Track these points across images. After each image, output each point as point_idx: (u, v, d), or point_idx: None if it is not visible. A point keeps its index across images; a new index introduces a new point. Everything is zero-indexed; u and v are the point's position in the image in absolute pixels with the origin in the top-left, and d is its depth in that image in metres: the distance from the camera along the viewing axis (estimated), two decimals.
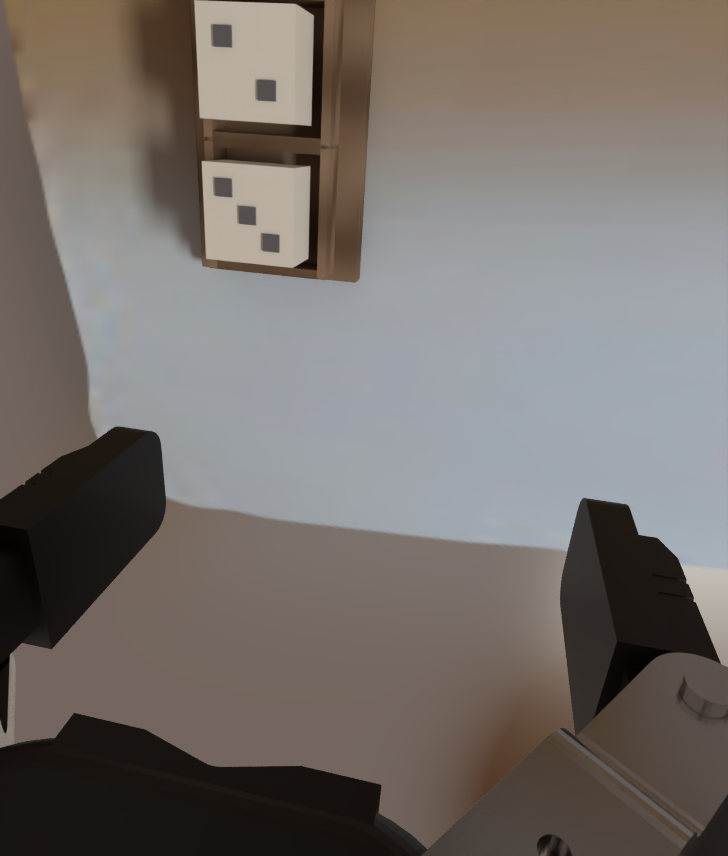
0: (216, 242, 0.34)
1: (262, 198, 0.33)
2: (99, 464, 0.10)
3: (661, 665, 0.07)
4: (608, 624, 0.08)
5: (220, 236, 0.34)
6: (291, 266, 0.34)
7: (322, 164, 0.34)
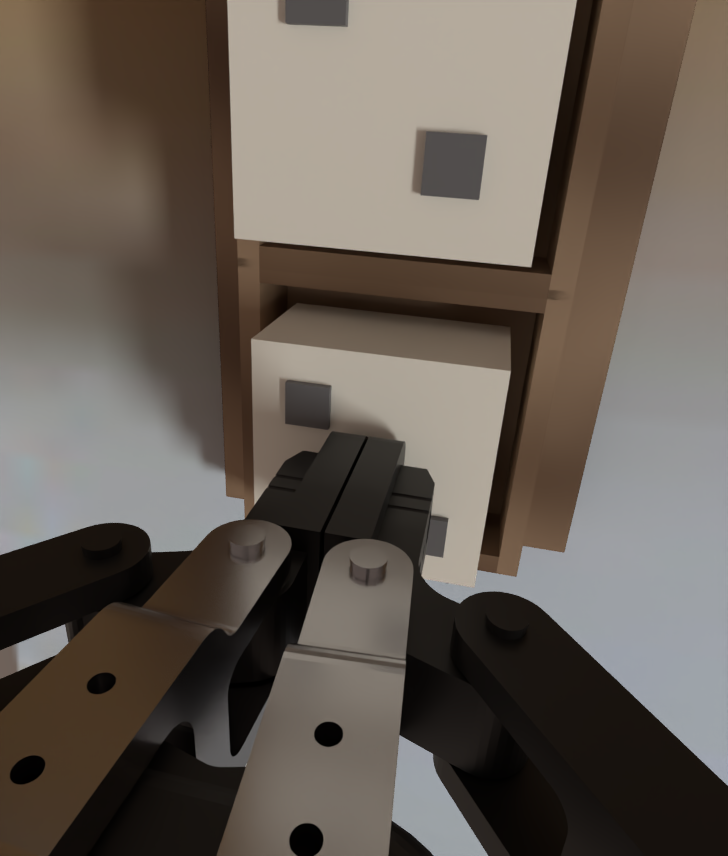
0: None
1: (413, 434, 0.12)
2: (342, 468, 0.11)
3: (331, 559, 0.08)
4: (332, 524, 0.10)
5: None
6: (471, 584, 0.14)
7: (547, 335, 0.13)
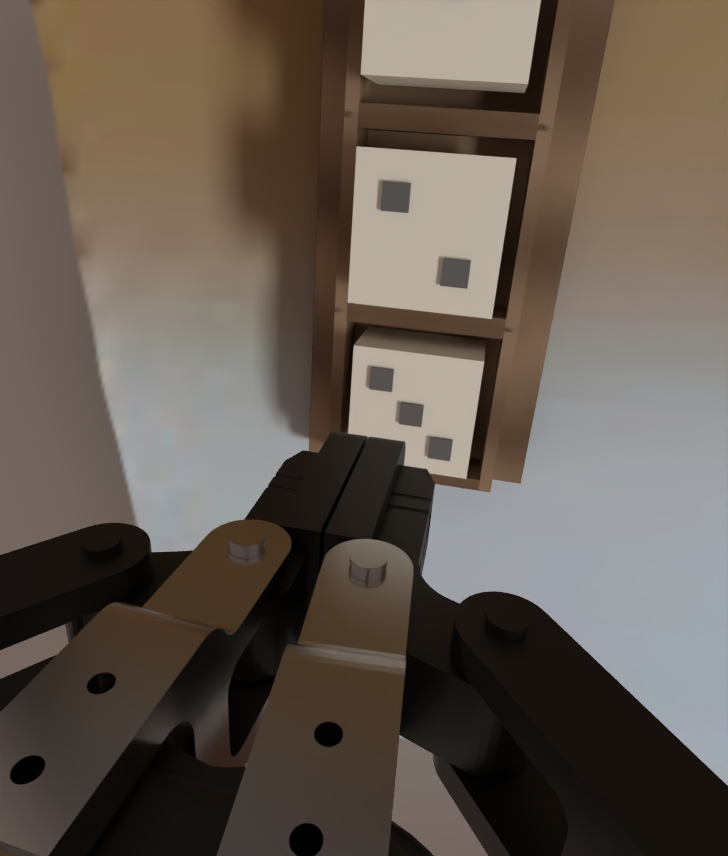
0: None
1: (435, 394, 0.24)
2: (342, 468, 0.11)
3: (330, 559, 0.08)
4: (331, 524, 0.10)
5: (370, 436, 0.26)
6: (464, 477, 0.25)
7: (504, 351, 0.24)
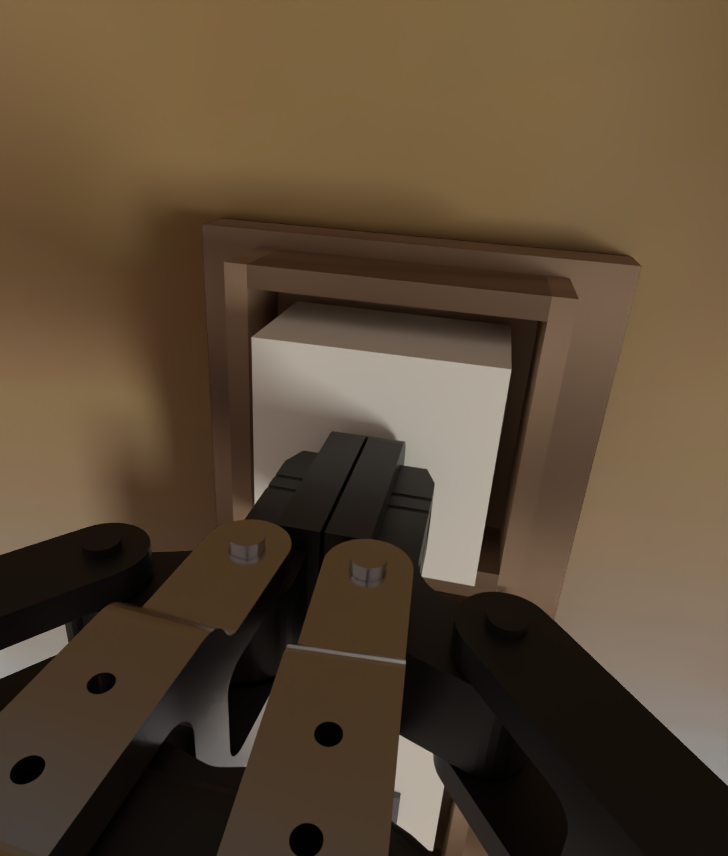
0: None
1: None
2: (342, 468, 0.11)
3: (331, 559, 0.08)
4: (331, 524, 0.10)
5: None
6: None
7: None
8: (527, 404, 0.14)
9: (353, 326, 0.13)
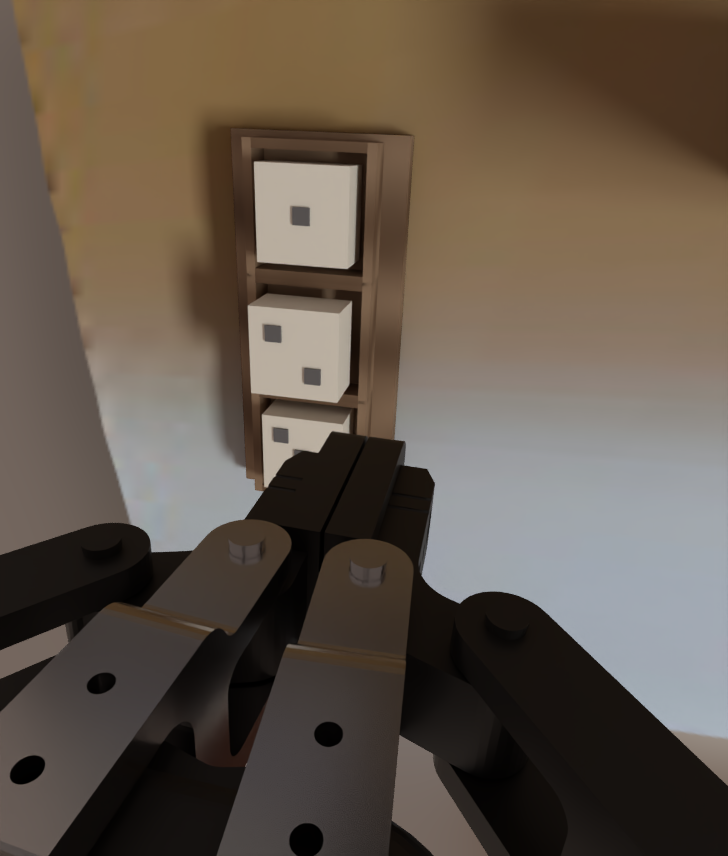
0: (273, 475, 0.39)
1: (315, 444, 0.38)
2: (343, 468, 0.11)
3: (331, 559, 0.08)
4: (332, 524, 0.10)
5: (277, 471, 0.39)
6: None
7: (359, 415, 0.38)
8: None
9: (295, 162, 0.33)
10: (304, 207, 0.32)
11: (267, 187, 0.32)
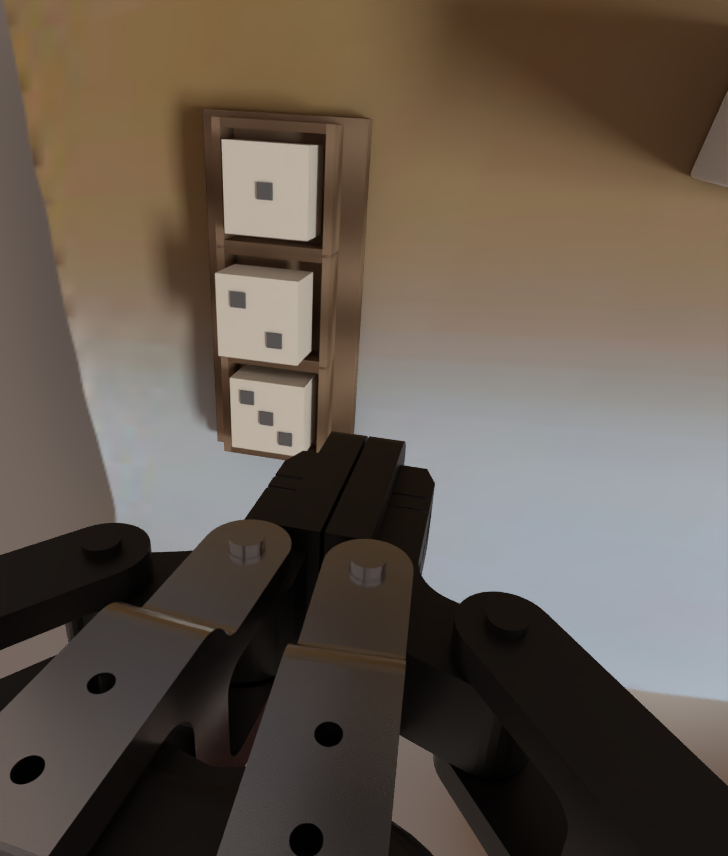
0: (240, 435, 0.42)
1: (279, 406, 0.41)
2: (342, 468, 0.11)
3: (331, 559, 0.08)
4: (332, 525, 0.10)
5: (244, 431, 0.42)
6: None
7: (320, 380, 0.41)
8: None
9: (260, 141, 0.36)
10: (268, 182, 0.35)
11: (233, 163, 0.35)
